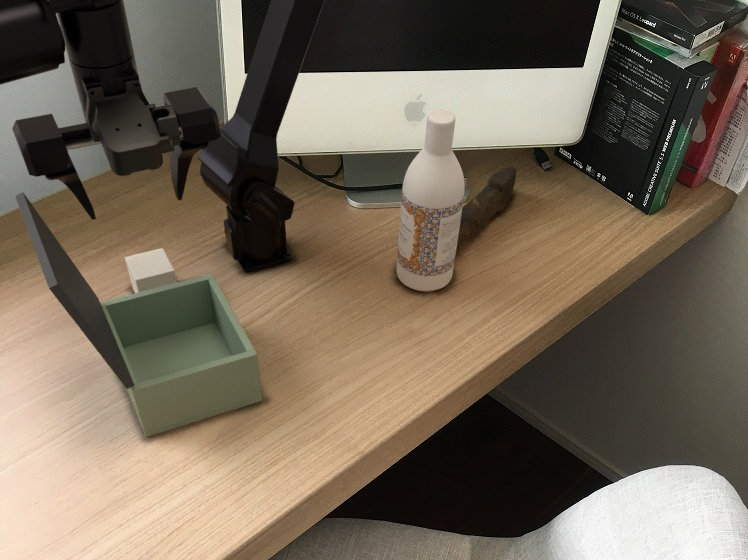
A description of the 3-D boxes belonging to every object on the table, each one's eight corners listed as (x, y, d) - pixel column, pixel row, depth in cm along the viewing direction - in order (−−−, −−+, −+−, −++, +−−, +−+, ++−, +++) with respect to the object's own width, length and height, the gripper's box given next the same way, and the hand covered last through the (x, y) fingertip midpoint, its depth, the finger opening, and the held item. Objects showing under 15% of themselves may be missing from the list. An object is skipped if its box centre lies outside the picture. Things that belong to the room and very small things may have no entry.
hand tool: (450, 266, 98) (455, 235, 94) (424, 253, 99) (428, 221, 95) (528, 200, 107) (536, 168, 103) (504, 188, 108) (510, 157, 105)
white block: (169, 279, 94) (163, 247, 91) (181, 301, 92) (174, 270, 88) (132, 288, 93) (124, 256, 89) (143, 312, 91) (135, 280, 87)
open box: (220, 321, 90) (212, 273, 85) (262, 401, 83) (257, 354, 78) (111, 351, 87) (95, 303, 81) (146, 437, 80) (132, 390, 74)
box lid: (23, 191, 69) (14, 195, 69) (58, 283, 62) (48, 288, 62) (98, 297, 81) (91, 301, 81) (134, 385, 74) (127, 389, 74)
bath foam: (387, 264, 98) (397, 104, 81) (437, 252, 99) (457, 94, 83) (409, 298, 94) (424, 138, 78) (461, 286, 96) (486, 127, 80)
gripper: (11, 117, 64) (65, 274, 76) (230, 77, 69) (246, 230, 82) (-14, 55, 69) (40, 211, 82) (190, 22, 75) (211, 174, 87)
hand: (136, 207), depth 83 cm, fingers open, 9 cm apart
